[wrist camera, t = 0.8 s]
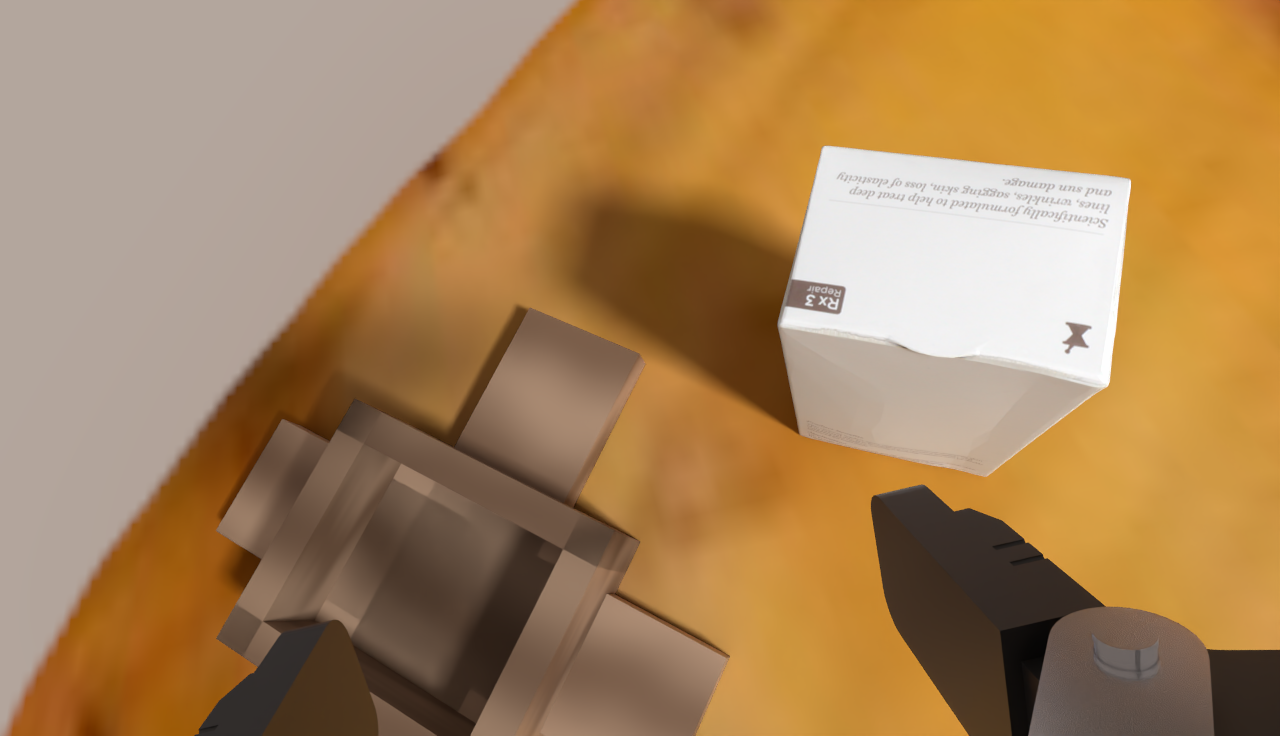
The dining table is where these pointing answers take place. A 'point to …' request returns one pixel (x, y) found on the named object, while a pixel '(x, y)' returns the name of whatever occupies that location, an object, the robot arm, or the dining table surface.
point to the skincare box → (950, 304)
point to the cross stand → (472, 559)
